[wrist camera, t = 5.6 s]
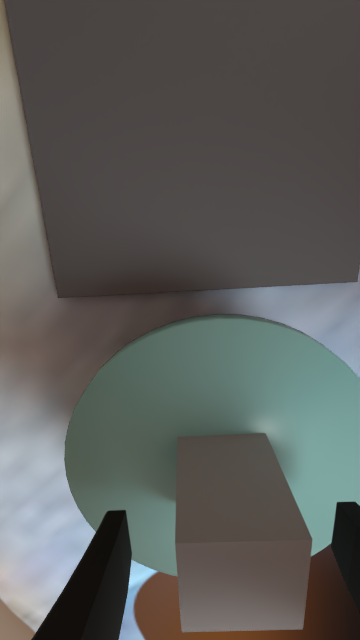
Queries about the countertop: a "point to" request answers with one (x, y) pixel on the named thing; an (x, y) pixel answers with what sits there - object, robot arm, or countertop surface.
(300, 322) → the countertop surface
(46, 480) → the countertop surface
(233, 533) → the lid
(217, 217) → the mat
